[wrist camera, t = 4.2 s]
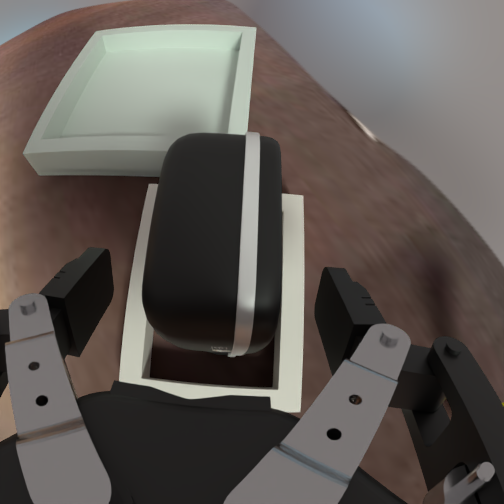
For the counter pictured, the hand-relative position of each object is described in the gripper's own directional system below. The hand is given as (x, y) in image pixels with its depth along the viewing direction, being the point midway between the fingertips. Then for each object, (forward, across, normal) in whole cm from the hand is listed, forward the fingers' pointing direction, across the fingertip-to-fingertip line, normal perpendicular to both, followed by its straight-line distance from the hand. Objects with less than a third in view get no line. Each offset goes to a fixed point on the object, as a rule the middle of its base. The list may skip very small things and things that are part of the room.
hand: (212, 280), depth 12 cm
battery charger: (+6, 0, +5) cm, 7 cm away
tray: (+17, +7, -7) cm, 20 cm away
